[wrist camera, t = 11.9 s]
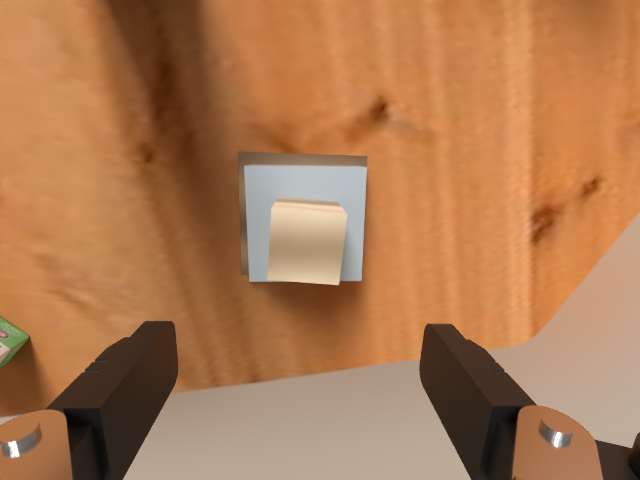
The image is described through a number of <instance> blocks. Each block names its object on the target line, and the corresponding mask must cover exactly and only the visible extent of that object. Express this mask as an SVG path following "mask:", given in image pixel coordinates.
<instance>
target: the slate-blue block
mask: <svg viewBox="0 0 640 480" xmlns="http://www.w3.org/2000/svg"><path fill="white" fill-rule="evenodd" d="M244 173H245V195H246V217H247V239H248V260H249V282H283V281H276V280H267V272H268V256H269V240H270V224H271V208H272V206H273V205H274V203H275V201H276V200H277V198H278V197H289V198H300V199H311V200H322V201H332V202H338V203H339V204H340V205H341V207H342V208H343V209H344V211H345V212H346V213H347V223H346V231H345V240H344V248H343V256H342V264H341V272H340V280H339V281H361V280H362V260H363V239H364V219H365V198H366V178H367V167H362V166H323V165H247V166H244Z"/></svg>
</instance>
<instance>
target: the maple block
mask: <svg viewBox="0 0 640 480" xmlns="http://www.w3.org/2000/svg"><path fill="white" fill-rule="evenodd" d="M346 223H347V213H346V212H345V211H344V209H343V208H342V207H341V205H340V204H339V203H338V202H332V201H322V200H311V199H300V198H289V197H278V198H277V200H276V201H275V203H274V205H273V206H272V208H271V224H270V240H269V256H268V272H267V280H276V281H290V282H304V283H317V284H331V285H339V280H340V272H341V264H342V256H343V248H344V240H345V231H346Z"/></svg>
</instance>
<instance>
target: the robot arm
mask: <svg viewBox="0 0 640 480" xmlns="http://www.w3.org/2000/svg"><path fill="white" fill-rule="evenodd" d="M419 370H420V378H421V382H422V385H423V387H424V389H425V391H426V393H427V395H428V397H429V399H430V401H431V403H432V405H433V407H434V409H435V411H436V412H437V414H438V416H439V418H440V420H441V422H442V424H443V426H444V428H445V430H446V432H447V434H448V436H449V438H450V439H451V441H452V443H453V445H454V447H455V449H456V451H457V453H458V455H459V457H460V459H461V460H462V462H463V464H464V466H465V468H466V470H467V472H468V474H469V476H470V478H471V480H640V433H638V434H637V436H636V439H635V442H634V445H633V447H632V448H628V447H624V446H619V445H615V444H611V443H607V442H602V441H598V440H594V439H593V437H592V436H591V435H590V433H589V432H588V431H587V430H586V429H585V428H584V427H583V426H582V425H580V424H579V423H578V422H576V421H575V420H574V419H572V418H570V417H569V416H567V415H565V414H563V413H561V412H559V411H556V410H554V409H551V408H548V407H543V406H537V405H536V404H535V402H534V401H533V400H532V399H531V398H530V397H529V396H528V395H527V394H526V393H525V392H524V391H523V390H522V389H521V388H520V386H519V385H518V384H517V383H516V382H515V381H514V380H513V379H512V378H511V377H510V376H509V375H508V374H507V373H505V372H504V369H503V368H502V367H501V366H500V365H499V364H498V363H496V362H495V360H494V359H493V358H492V356H491V355H490V354H489V353H488V352H487V351H486V350H485V349H484V348H482V347H480V346H479V345H477V344H476V343H474V342H472V341H471V340H466V339H465V338H464V337H463V336H462V335H461V333H460V332H459V331H458V330H457V329H456V328H455V327H454V326H453V325H452V324H427V325H426V327H425V330H424V337H423V344H422V351H421V359H420V369H419ZM177 375H178V356H177V345H176V333H175V326H174V323H173V322H172V321H145V322H144V323H143V324H142V325H141V326H140V327H139V328H138V329H137V330H136V331H135V332H134V333H133V334H132V336H131V337H125V338H123V339H121V340H120V341H118V342H116V343H114V344H113V345H111V346H109V347H108V348H107V349H105V350H104V351H103V352H102V353H101V354H100V355H99V356H98V357H97V358H96V359H95V362H92V363H91V364H90V365H89V366H88V367H87V368H86V369H85V372H84V373H81V374H80V375H79V376H78V377H77V378H76V379H75V380H74V381H73V382H72V383H71V384H70V385H69V386H68V387H67V388H66V389H65V390H64V391H63V392H62V393H61V394H60V395H59V396H58V397H57V398H56V399H55V400H54V401H53V402H52V403H51V404H50V405H49V406H48V407H47V408H46V409H45V410H40V411H34V412H30V413H27V414H24V415H21V416H19V417H16V418H14V419H12V420H10V421H8V422H6V423H4V424H2V425H0V480H123V478H124V476H125V474H126V473H127V471H128V469H129V467H130V465H131V464H132V462H133V460H134V458H135V456H136V454H137V452H138V451H139V449H140V447H141V445H142V444H143V442H144V440H145V438H146V436H147V435H148V433H149V431H150V429H151V427H152V425H153V423H154V422H155V420H156V418H157V416H158V415H159V413H160V411H161V409H162V407H163V406H164V404H165V402H166V400H167V398H168V396H169V395H170V393H171V391H172V389H173V387H174V385H175V383H176V379H177Z"/></svg>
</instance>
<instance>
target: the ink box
mask: <svg viewBox="0 0 640 480" xmlns="http://www.w3.org/2000/svg"><path fill="white" fill-rule="evenodd" d="M28 339H29V336H28V335H27V334H25V333H24V332H22V331H21V330H19V329H18V328H16V327H15V326H13V325H12V324H10V323H9V322H7V321H6V320H4V319H3V318H1V317H0V368H1V367H3V366H4V365H5V364H7V363H8V362H9V361H10V360H11V359H12V357H13V356H14V355H15V354H16V353H17V352H18V350H19V349H20V348H21V347H22V346H23V345H24V344H25V342H26V341H27V340H28Z"/></svg>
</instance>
